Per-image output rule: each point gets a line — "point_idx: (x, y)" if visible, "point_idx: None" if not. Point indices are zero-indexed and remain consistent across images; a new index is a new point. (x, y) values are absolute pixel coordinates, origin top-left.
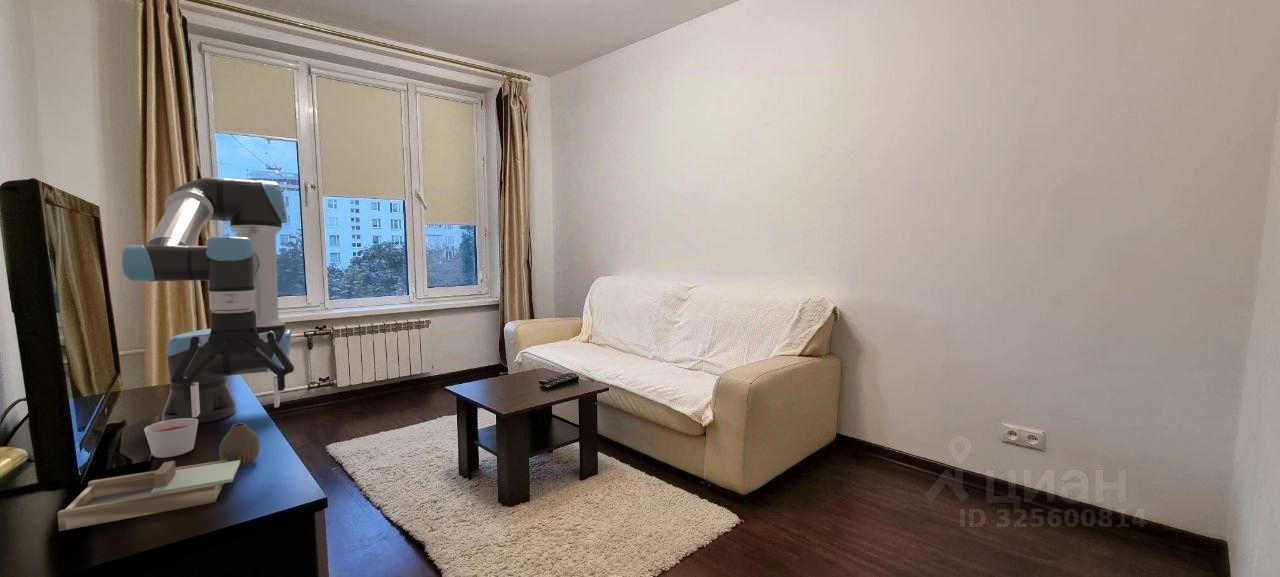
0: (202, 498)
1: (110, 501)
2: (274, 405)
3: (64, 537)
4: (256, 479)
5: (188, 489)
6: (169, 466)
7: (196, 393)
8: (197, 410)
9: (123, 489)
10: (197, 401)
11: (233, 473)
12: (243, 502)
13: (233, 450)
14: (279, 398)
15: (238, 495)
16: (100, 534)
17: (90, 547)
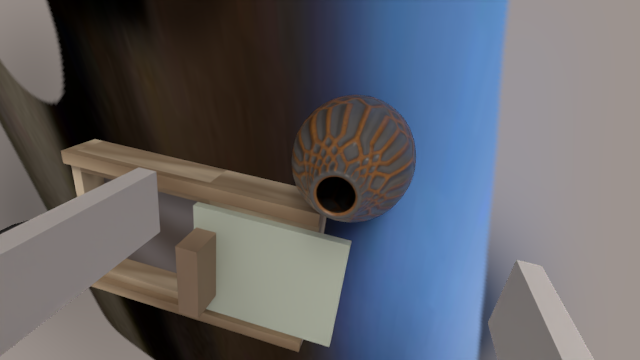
0: None
1: None
2: (492, 333)
3: None
4: (386, 271)
5: (256, 334)
6: (194, 284)
7: (50, 297)
8: (139, 231)
9: None
10: (99, 249)
11: (332, 322)
12: (353, 356)
13: (331, 211)
14: (555, 292)
15: (346, 323)
16: (172, 314)
17: (174, 342)
